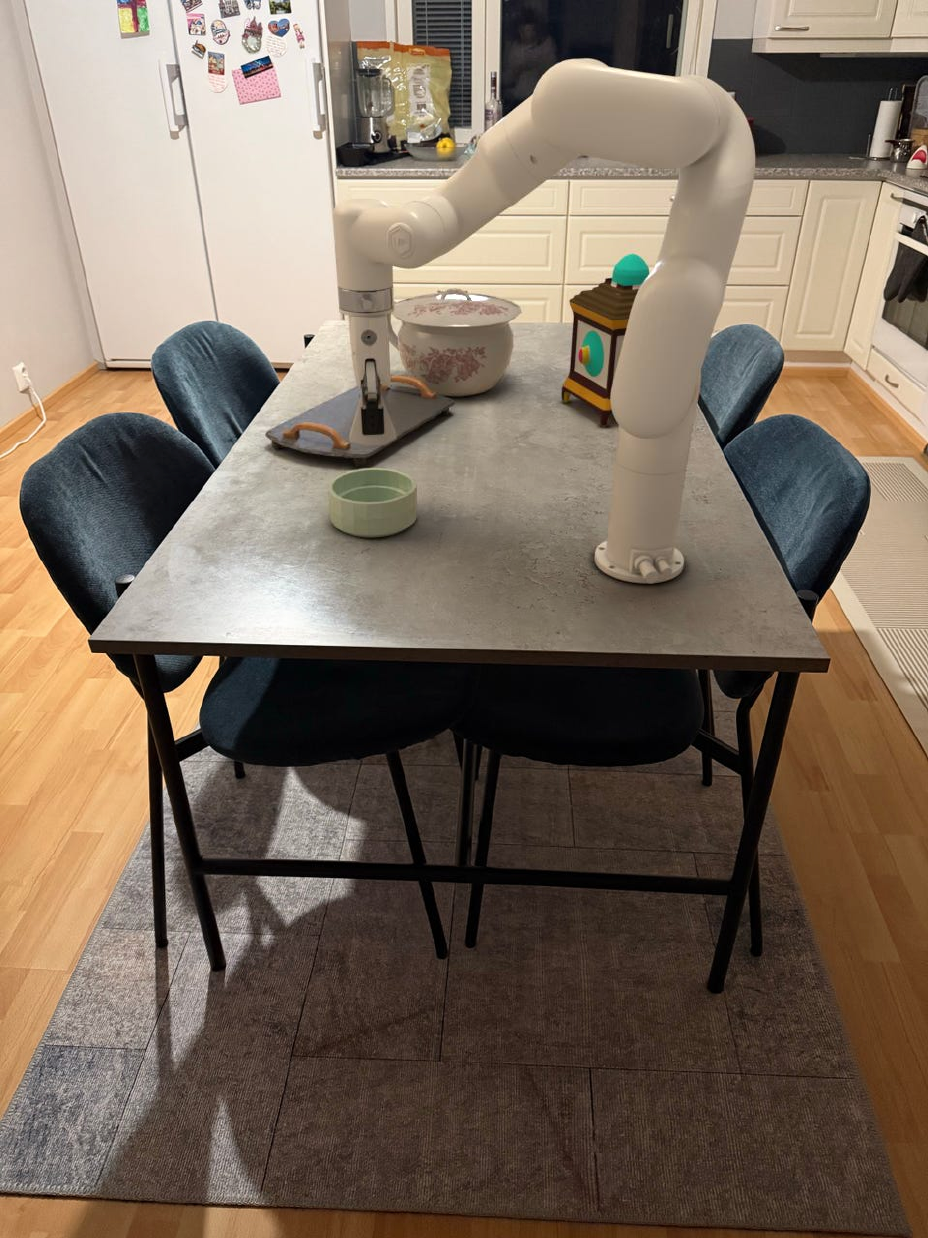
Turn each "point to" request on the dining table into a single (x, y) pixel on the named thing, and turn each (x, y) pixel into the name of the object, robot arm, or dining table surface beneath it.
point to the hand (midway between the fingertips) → (372, 426)
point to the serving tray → (334, 419)
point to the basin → (372, 502)
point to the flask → (362, 439)
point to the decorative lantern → (602, 334)
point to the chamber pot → (454, 340)
